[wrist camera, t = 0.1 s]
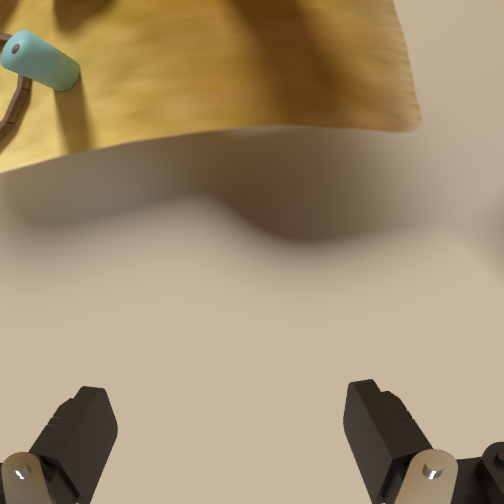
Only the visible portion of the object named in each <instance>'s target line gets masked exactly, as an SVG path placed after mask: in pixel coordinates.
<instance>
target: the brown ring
mask: <svg viewBox="0 0 504 504" xmlns="http://www.w3.org/2000/svg"><path fill="white" fill-rule="evenodd" d="M12 36H13V35H9V34H4V33H0V45H1V44H3V43H5V42H8V40H9V39H10V38H11V37H12ZM30 80H31V79H30V78H27V77H25V76H23V75H20V74H19V75H18V82H17V89H16V91H15V93H14V95H13V97H12V100H11V102H10V104H9V107H8V109H7V111H6V114H5V116H4V118H3V120H2V121H1V122H0V140H1V139H2V137H3V136H4V135H5V134H6V133H7V132H8V131H9V129H10V128H11V127H12V126H13V125H14V123H15V122H16V119H17V117H18V115H19V112H20V110H21V108H22V106H23V103H24V101H25V99H26V97H27V95H28V93H29V91H28V90H30Z"/></svg>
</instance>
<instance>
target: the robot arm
mask: <svg viewBox="0 0 504 504" xmlns="http://www.w3.org/2000/svg"><path fill="white" fill-rule="evenodd" d="M343 424H344V431H345V434H346V437H347V440H348V442H349V445H350V447H351V450H352V452H353V455H354V457H355V460H356V463H357V465H358V468H359V470H360V473H361V475H362V478H363V481H364V483H365V485H366V488H367V491H368V494H369V496H370V499H371V502H372V504H382V503H385V504H504V442H496V443H493V444H491V445H490V446H488V448H487V449H486V450H485V451H484V453H483V455H482V457H477V458H469V459H458V460H456V459H455V458H454V457H453V456H452V455H451V454H449V453H447V452H445V451H443V450H437V449H433V448H432V446H431V444H430V443H429V441H428V440H427V438H426V437H425V435H424V434H423V432H422V431H421V429H420V428H419V426H418V425H417V423H416V422H415V420H414V419H412V416H411V414H410V413H409V411H407V409H406V407H405V405H404V404H403V403H402V401H401V400H400V398H398V397H397V396H395V395H394V394H392V393H391V392H389V391H385V392H381V391H380V389H379V388H378V387H377V385H376V383H375V382H374V380H373V379H368V380H362V381H356V382H351V383H349V385H348V390H347V398H346V404H345V411H344V417H343ZM117 431H118V427H117V422H116V418H115V416H114V413H113V410H112V407H111V404H110V401H109V398H108V395H107V393H106V391H105V389H103V388H97V387H88V386H83V387H81V388H80V390H79V391H78V393H77V394H76V396H75V397H74V399H72V398H70V399H69V400H67V401H66V402H64V403H63V404H62V405H60V406H59V408H58V409H57V410H56V412H55V413H54V415H53V417H52V418H51V419H50V420H49V422H48V425H46V426H45V428H44V429H43V431H42V432H41V434H40V436H39V437H38V438H37V440H36V441H35V443H34V444H33V446H32V447H31V449H30V450H29V452H19V453H15V454H12V455H11V456H9V457H8V458H7V459H6V460H5V461H4V463H0V504H76V503H78V504H90V502H91V499H92V497H93V494H94V491H95V489H96V487H97V484H98V481H99V479H100V477H101V474H102V472H103V469H104V467H105V464H106V462H107V459H108V457H109V455H110V452H111V450H112V447H113V445H114V443H115V440H116V438H117Z"/></svg>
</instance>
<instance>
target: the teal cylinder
mask: <svg viewBox="0 0 504 504" xmlns="http://www.w3.org/2000/svg"><path fill="white" fill-rule="evenodd" d="M1 65H2V66H3V67H4V68H6V69H8V70H11V71H13V72H15V73H18V74H20V75H23V76H25V77H27V78H30V79H32V80H34V81H37V82H39V83H41V84H44V85H46V86H48V87H51V88H53V89H55V90H57V91H66V90H68V89H70V88H71V87H72V86H73V85H74V84H75V83H76V81H77V80H78V78H79V75H80V66H79V64H78V63H77V62H76V61H74V60H73V59H71V58H70V57H68V56H67V55H65V54H64V53H62V52H61V51H59V50H58V49H56V48H55V47H53V46H52V45H50V44H48V43H47V42H45V41H44V40H42V39H41V38H39V37H38V36H36V35H34V34H33V33H31V32H30V31H28V30H21V31H19V32H17V33H16V34H14V35H13V36H12V37H11V38H10V39H9V40H8V42H7V43H6V45H5V46H4V48H3V51H2V53H1Z"/></svg>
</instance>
